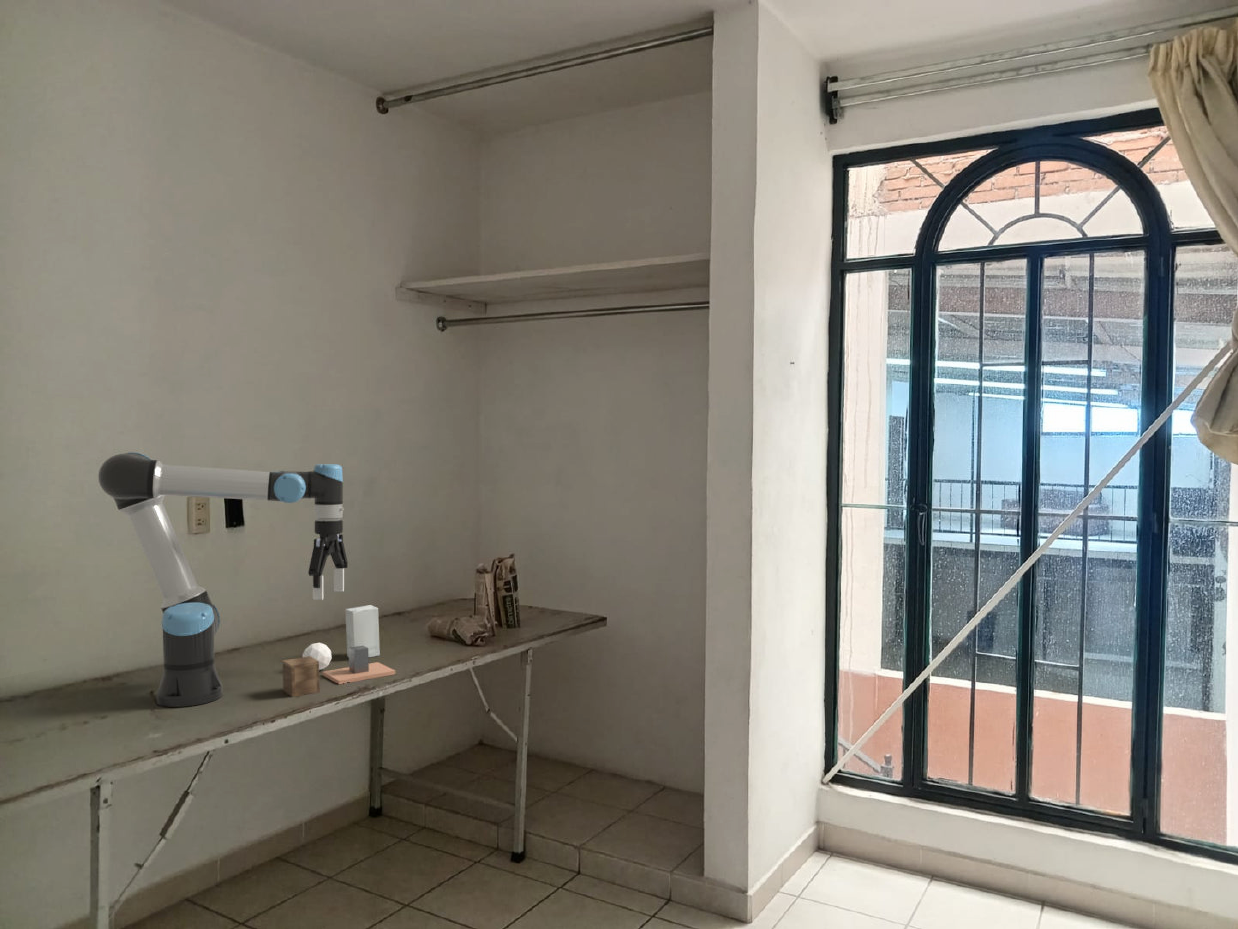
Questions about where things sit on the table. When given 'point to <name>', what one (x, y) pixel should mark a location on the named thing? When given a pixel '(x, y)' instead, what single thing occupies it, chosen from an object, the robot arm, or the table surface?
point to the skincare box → (363, 629)
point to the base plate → (347, 676)
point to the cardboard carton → (301, 676)
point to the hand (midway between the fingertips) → (328, 595)
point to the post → (358, 659)
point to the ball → (319, 654)
